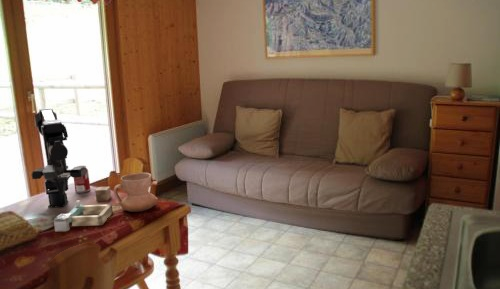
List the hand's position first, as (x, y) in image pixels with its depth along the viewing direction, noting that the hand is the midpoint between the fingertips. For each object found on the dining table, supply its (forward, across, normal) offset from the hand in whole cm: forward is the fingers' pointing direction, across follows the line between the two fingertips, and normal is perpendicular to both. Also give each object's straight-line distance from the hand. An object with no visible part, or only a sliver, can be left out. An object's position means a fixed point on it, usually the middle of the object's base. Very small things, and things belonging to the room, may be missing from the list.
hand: (62, 194), depth 163 cm
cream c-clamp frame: (+12, +9, +2) cm, 15 cm away
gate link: (+11, +2, +3) cm, 11 cm away
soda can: (+12, -8, +38) cm, 41 cm away
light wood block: (+12, +6, +26) cm, 29 cm away
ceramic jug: (+12, +25, +12) cm, 30 cm away
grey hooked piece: (+12, +2, +1) cm, 12 cm away
